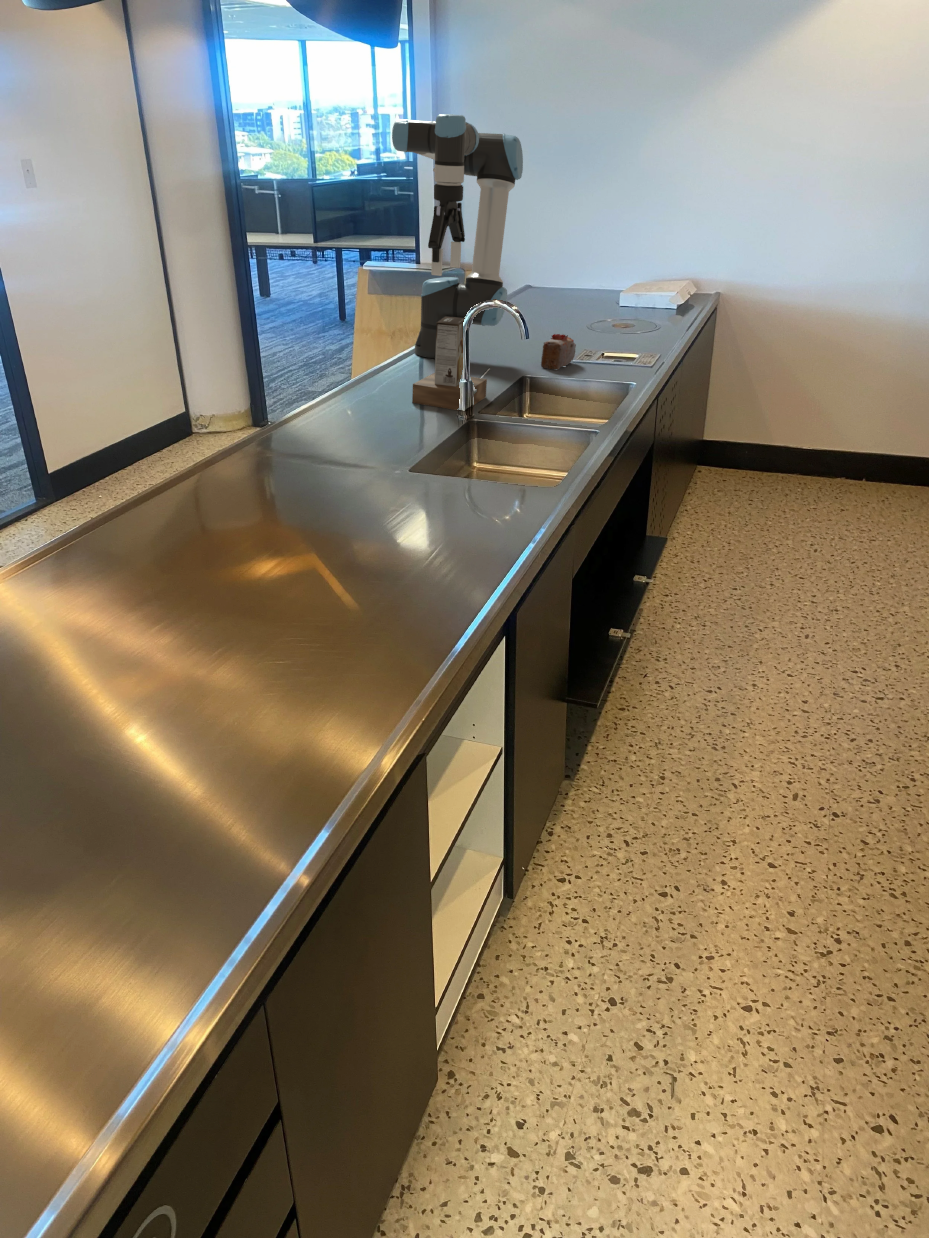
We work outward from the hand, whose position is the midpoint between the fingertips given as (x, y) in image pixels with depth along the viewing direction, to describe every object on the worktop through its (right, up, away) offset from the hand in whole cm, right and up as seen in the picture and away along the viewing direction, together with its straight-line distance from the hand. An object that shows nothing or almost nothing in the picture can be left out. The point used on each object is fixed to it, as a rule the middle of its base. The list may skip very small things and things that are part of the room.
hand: (446, 271), depth 238 cm
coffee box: (+1, -30, 0) cm, 30 cm away
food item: (+35, -13, +45) cm, 58 cm away
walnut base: (+1, -34, +3) cm, 34 cm away
